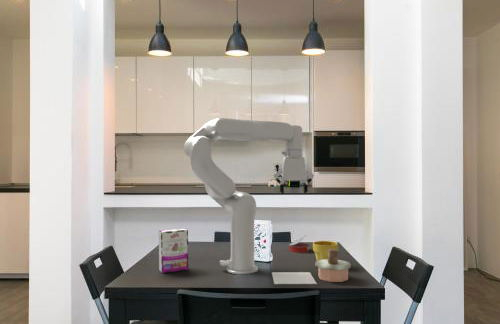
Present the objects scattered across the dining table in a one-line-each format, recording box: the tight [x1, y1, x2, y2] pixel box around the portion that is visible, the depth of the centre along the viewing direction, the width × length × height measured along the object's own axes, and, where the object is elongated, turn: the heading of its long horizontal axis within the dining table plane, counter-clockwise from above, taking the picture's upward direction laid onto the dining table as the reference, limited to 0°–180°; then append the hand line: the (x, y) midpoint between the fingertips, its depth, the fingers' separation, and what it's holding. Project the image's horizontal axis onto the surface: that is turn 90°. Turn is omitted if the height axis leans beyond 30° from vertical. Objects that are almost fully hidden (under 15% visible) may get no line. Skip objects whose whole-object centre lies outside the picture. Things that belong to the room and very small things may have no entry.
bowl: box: [317, 267, 349, 283], centre depth 146 cm, size 10×10×5 cm
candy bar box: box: [158, 228, 189, 274], centre depth 158 cm, size 11×5×16 cm, turn 117°
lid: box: [314, 249, 352, 270], centre depth 146 cm, size 13×13×6 cm
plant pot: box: [312, 240, 339, 261], centre depth 165 cm, size 10×10×10 cm
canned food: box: [288, 234, 310, 254], centre depth 195 cm, size 11×10×10 cm
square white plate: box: [271, 271, 318, 285], centre depth 145 cm, size 15×15×1 cm
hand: (293, 193), depth 168 cm, fingers open, 9 cm apart
